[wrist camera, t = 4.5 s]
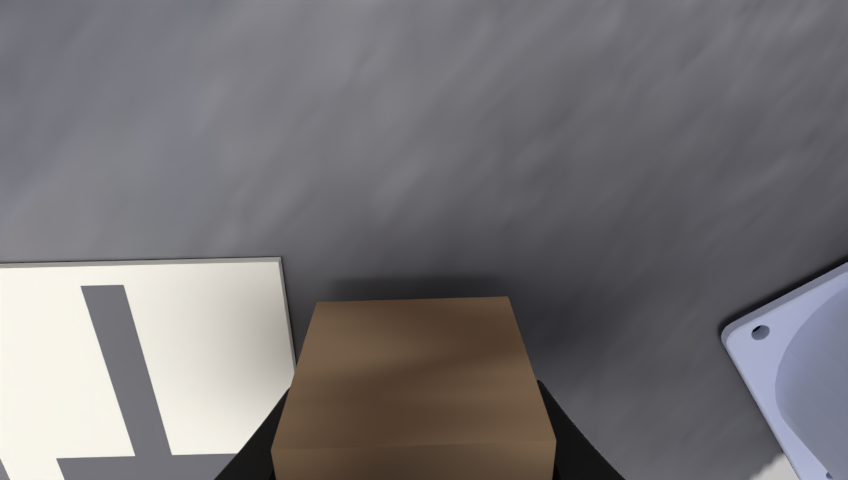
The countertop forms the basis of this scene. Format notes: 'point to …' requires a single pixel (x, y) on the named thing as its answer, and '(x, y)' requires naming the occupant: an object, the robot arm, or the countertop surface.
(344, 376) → the walnut block
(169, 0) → the countertop surface
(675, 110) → the countertop surface
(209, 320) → the letter card
